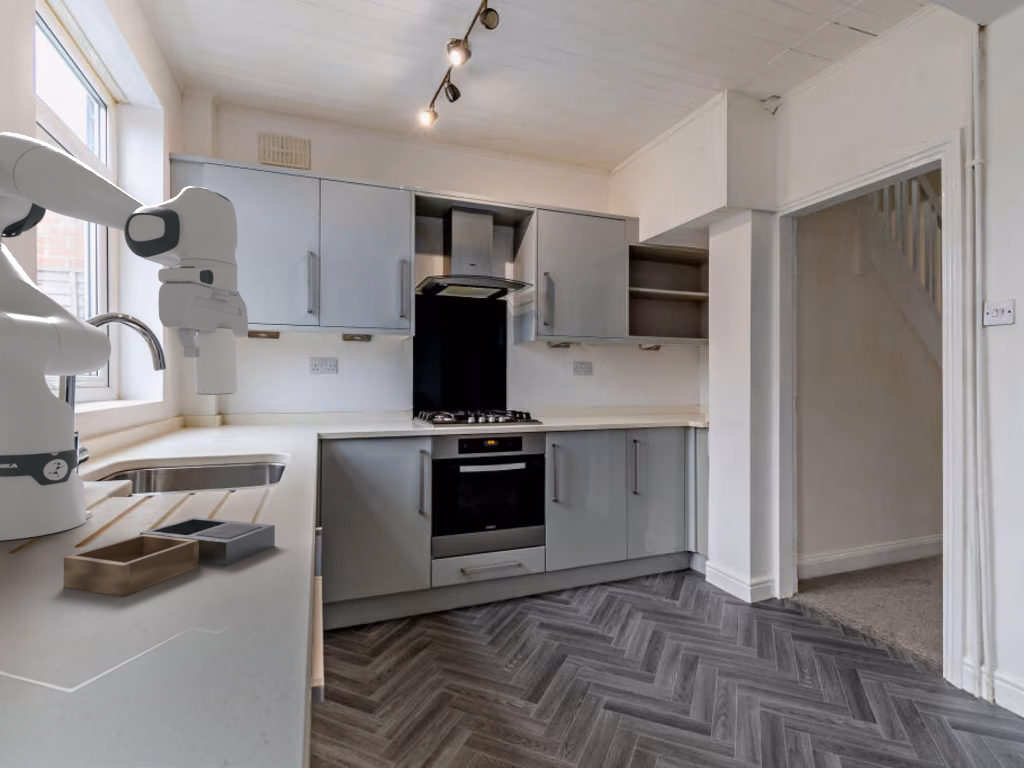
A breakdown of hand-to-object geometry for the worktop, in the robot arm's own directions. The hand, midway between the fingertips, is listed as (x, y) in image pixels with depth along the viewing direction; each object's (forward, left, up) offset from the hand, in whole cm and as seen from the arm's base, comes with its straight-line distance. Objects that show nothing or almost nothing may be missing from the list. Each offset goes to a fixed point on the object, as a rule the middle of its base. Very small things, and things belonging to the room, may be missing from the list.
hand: (208, 358), depth 90 cm
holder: (+8, -19, -31) cm, 37 cm away
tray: (+9, -8, -31) cm, 33 cm away
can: (0, +2, -7) cm, 7 cm away
